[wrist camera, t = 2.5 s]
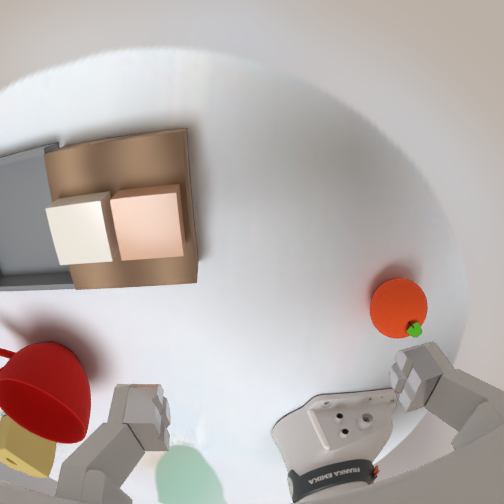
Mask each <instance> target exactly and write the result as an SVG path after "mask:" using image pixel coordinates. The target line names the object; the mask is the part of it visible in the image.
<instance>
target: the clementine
mask: <svg viewBox="0 0 504 504" xmlns="http://www.w3.org/2000/svg"><path fill="white" fill-rule="evenodd" d="M426 314H427V300H426V296H425V294H424V292H423V291H422V289H421V288H420V287H419V286H418V285H417V284H416V283H414V282H413V281H411V280H408V279H404V278H396V279H392V280H388V281H386V282H384V283H383V284H382V285H380V286H379V288H378V289H377V290H376V291H375V293H374V295H373V297H372V300H371V302H370V316H371V319H372V322H373V324H374V326H375V327H376V328H377V329H378V331H379V332H380V333H382V334H384V335H386V336H388V337H391V338H404V337H408V336H410V335H411V336H413V337H418V336H419V335H420V334H421V333H422V329H421V325H422V324H423V322H424V320H425V318H426Z"/></svg>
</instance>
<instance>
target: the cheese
mask: <svg viewBox="0 0 504 504" xmlns="http://www.w3.org/2000/svg"><path fill="white" fill-rule="evenodd" d="M55 451H56V442H54V441H50V440H47V439H44V438H42V437H39V436H37V435H35V434H33V433H31V432H29V431H28V430H26V429H24V428H23V427H21V426H20V425H19V424H17V423H16V422H15V421H13V420H12V419H11V418H10V417H9V416H8V415H6V416H3V417H2V418H1V420H0V461H1V462H3V463H4V464H5V465H7V466H9V467H10V468H12V469H15V470H19V471H22V472H24V473H26V474H28V475H30V476H33V477H40V478H46V477H49V474H50V471H51V469H52V466H53V462H54V457H55Z"/></svg>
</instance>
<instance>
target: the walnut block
mask: <svg viewBox="0 0 504 504" xmlns="http://www.w3.org/2000/svg"><path fill="white" fill-rule="evenodd" d="M44 160H45V166H46V173H47V178H48V184H49V189H50V194H51V199H52V203H53V202H54V201H56V200H57V199H59V198H66V197H72V196H79V195H86V194H93V193H101V192H108V191H110V195H111V198H112V197H113V196H114V195H115V194H116V193H117V192H118V191H119V190H125V189H133V188H142V187H152V186H162V185H173V184H180V192H181V202H182V212H183V221H184V230H185V239H186V245H185V251H184V256H180V257H166V258H152V259H139V260H125V261H122V259H121V255H120V250H119V251H118V252H117V254H116V256H115V258H114V260H113V261H111V262H97V263H83V264H70V265H68V267H69V270H70V273H71V277H72V280H73V283H74V286H75V289H76V290H81V289H102V288H122V287H140V286H157V285H173V284H189V283H197V273H198V255H197V246H196V236H195V226H194V216H193V205H192V194H191V182H190V170H189V156H188V142H187V128H185V129H174V130H165V131H156V132H148V133H140V134H133V135H126V136H119V137H113V138H106V139H101V140H95V141H89V142H84V143H79V144H74V145H69V146H64V147H61V148H59V149H56V150H54V151H51V152H49V153H46V154H44Z"/></svg>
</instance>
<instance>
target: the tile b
mask: <svg viewBox="0 0 504 504" xmlns="http://www.w3.org/2000/svg"><path fill="white" fill-rule="evenodd" d="M110 203H111V209H112V215H113V220H114V226H115V231H116V236H117V241H118V245H119V250H120V255H121V259H122V261H125V260H139V259H152V258H166V257H180V256H184V251H185V245H186V239H185V230H184V221H183V212H182V202H181V192H180V184H173V185H162V186H152V187H142V188H133V189H125V190H119V191H118V192H117V193H116V194H115V195H114V196H113V197H112V198H111V199H110Z"/></svg>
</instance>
